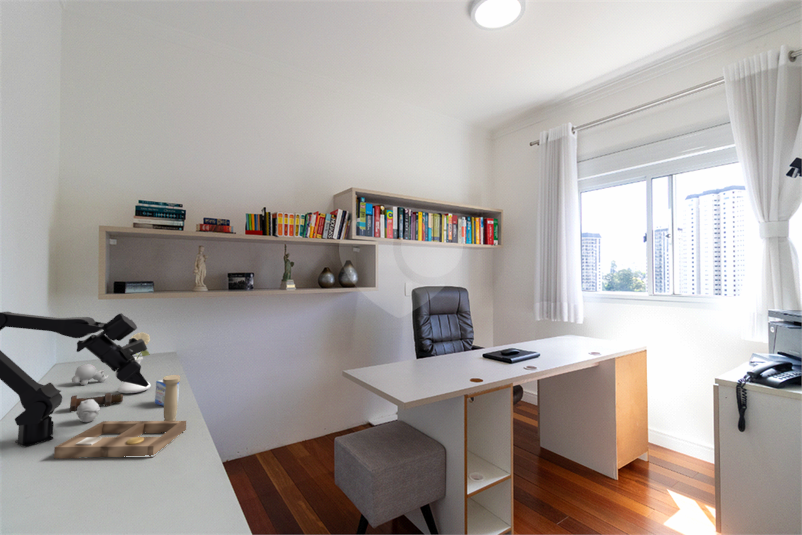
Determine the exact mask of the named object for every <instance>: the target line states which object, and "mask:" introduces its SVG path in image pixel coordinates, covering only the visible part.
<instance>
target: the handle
mask: <svg viewBox="0 0 802 535" xmlns="http://www.w3.org/2000/svg"><path fill="white" fill-rule="evenodd" d="M162 380H163V383H164V384H166V390H165V399H164V406H163V418H164V419H163V421H177V412H178V404H177V383H178V382H179V383H180V382H181V376H180V375H178V374H172V375H171V374H170V375H166V376H164V377H163V378H162Z"/></svg>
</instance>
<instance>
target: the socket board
mask: <svg viewBox="0 0 802 535" xmlns="http://www.w3.org/2000/svg"><path fill="white" fill-rule="evenodd" d="M185 430H186V431H187V420H176V421H164V420H115V421H114V420H110V421H109V420H107V421H106V420H103V421H101V422H99V423H97V424H95V425H93V426H92V427H89V428H87V429H86V430H84V431H83V432H81V433H78V434H76V435H73V437H71V438H69V439H67V440H65V441H63V442H61V443H59V444H58V445H56V446H54V450H53V452H54V453H53V459H55V458H56V459H57V460H58V458H59V459H80V458H79V457H124V456H125V457H126V456H145V455H149V456H151V455H154V454H156V453H157V452H158V451H160V450H161V449H162V448H164V447H165V446H166V445H167V444H169V443H170V442H171V441H172V440H173V439H175V438H176V437H177V436H178V435H180V434H181V433H182V432H183V431H185ZM186 431H185V432H186ZM145 432H146V433H145ZM161 432H162V433H161ZM163 432H166V433H163ZM143 433H144V434H162V435H161V436H142V435H143ZM183 433H184V432H183ZM183 433H182V434H183ZM103 434H118V435H117V436H108V437H107V436H105V437H104V436H103V437H102V436H101V435H103ZM141 434H142V435H141ZM182 434H181V435H182ZM140 435H141V436H140ZM181 435H180V436H181ZM100 436H101V437H100ZM138 436H139V437H138ZM177 438H178V437H177ZM177 438H176V439H177ZM176 439H175V440H176ZM172 442H173V441H172ZM172 442H171V443H172ZM171 443H170V444H171ZM170 444H169V445H170ZM166 447H167V446H166ZM166 447H165V448H166ZM165 448H164V449H165ZM160 452H161V451H160Z"/></svg>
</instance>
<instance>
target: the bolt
mask: <svg viewBox="0 0 802 535" xmlns="http://www.w3.org/2000/svg"><path fill="white" fill-rule="evenodd" d="M88 399H94V401H95V402H96V403H98V405H99V406H102V405H103V406H104V407H110V406H112V404H118V403H119V404H120V403H123V402H124V393H120V394H112V393H111V392H107V393H105V394H104V395H102V396H100V395H99V396H93V397H90V396H89V397H78V395H76V394H75V395H72V396H70V402H69V404H70V405H69V412H70V413H72V412H71V411H74V412H77V407H78V406H79V405H80V404H81V402H82V401H85V400H88Z"/></svg>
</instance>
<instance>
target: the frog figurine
mask: <svg viewBox="0 0 802 535" xmlns="http://www.w3.org/2000/svg"><path fill="white" fill-rule="evenodd" d="M100 411H101V407H100V405H98V403H96V402H95V401H94V399H88V400H85V401H82V402H81V404H80V405H79V406H78V407H77V408H76V411H75V414H76V415H77V417H78V419H79V420H80V421H81V422H83V423H90V422H92V421H95V419H96V418H97V417H98V416H99V413H100Z"/></svg>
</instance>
